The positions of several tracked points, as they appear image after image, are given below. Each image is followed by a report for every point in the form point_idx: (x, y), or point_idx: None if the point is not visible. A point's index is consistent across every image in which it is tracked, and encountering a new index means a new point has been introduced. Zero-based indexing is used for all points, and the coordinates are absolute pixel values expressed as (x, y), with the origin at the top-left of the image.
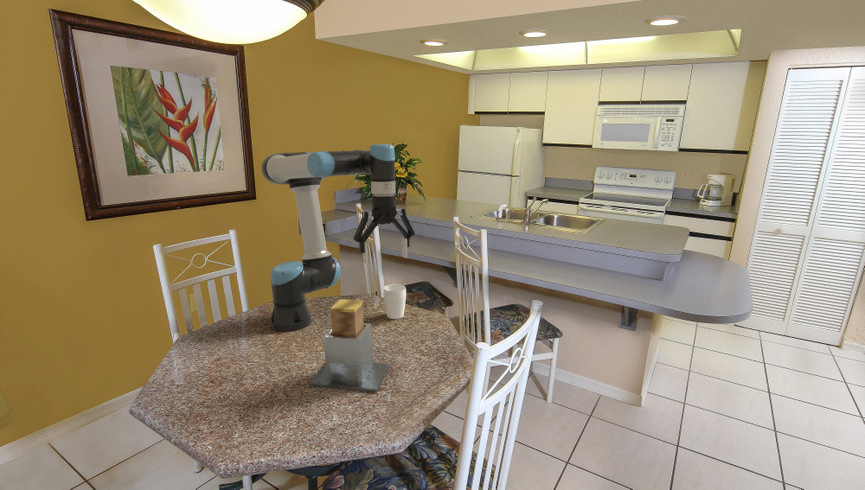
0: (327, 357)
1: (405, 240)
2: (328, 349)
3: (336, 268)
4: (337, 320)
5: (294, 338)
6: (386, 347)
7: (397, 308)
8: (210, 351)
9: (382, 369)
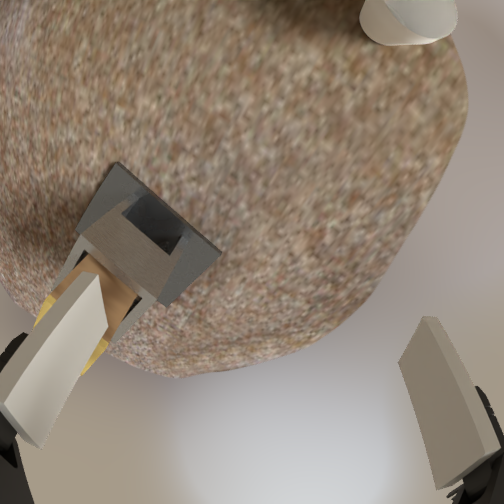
0: None
1: (436, 477)
2: None
3: None
4: None
5: (93, 17)
6: (260, 169)
7: (388, 40)
8: None
9: (199, 263)
